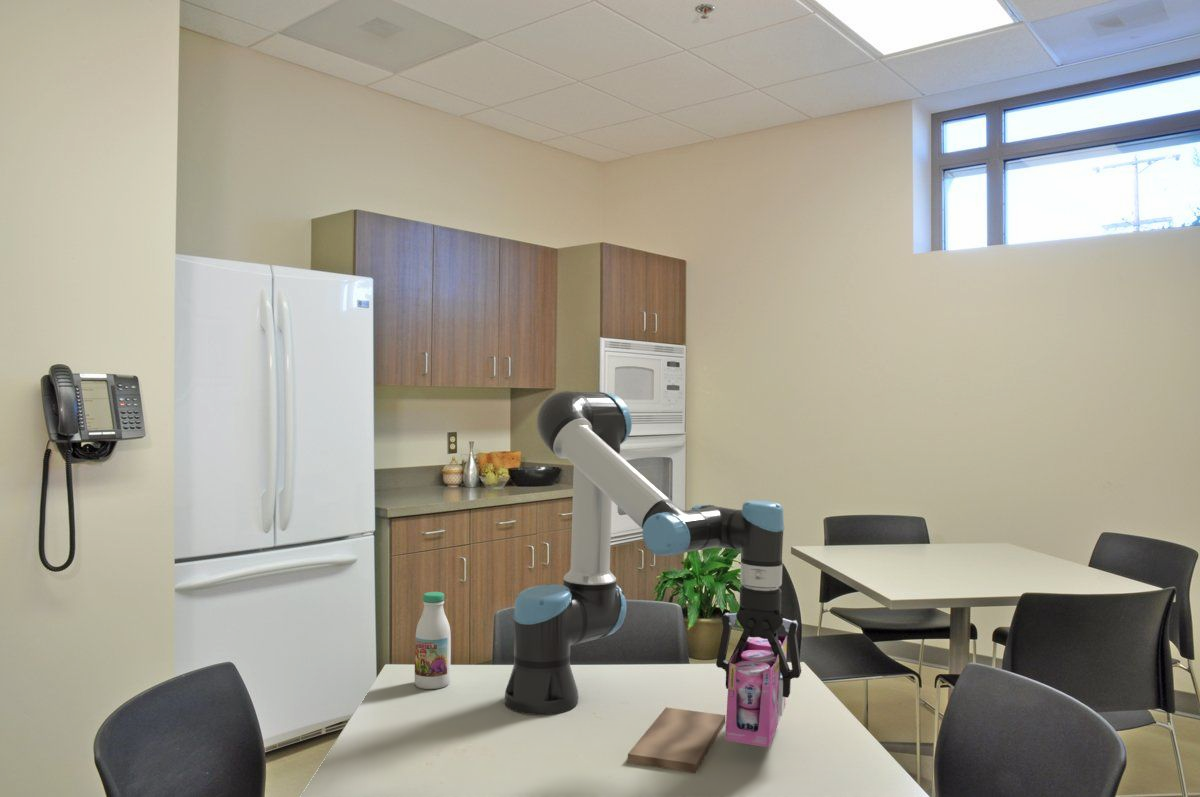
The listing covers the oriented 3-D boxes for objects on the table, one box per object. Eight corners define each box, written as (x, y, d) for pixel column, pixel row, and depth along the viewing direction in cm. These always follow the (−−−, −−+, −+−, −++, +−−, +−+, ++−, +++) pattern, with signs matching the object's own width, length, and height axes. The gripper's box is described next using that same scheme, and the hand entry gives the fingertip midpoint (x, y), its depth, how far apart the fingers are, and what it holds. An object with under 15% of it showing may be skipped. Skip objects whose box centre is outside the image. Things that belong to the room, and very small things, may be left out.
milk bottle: (421, 678, 194) (422, 589, 194) (454, 680, 193) (455, 590, 193) (409, 689, 186) (410, 596, 186) (443, 691, 185) (445, 597, 185)
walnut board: (627, 762, 148) (627, 753, 148) (665, 714, 172) (665, 707, 172) (695, 773, 144) (695, 764, 144) (725, 722, 168) (725, 715, 168)
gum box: (769, 751, 145) (771, 671, 145) (722, 744, 147) (725, 665, 147) (786, 704, 168) (788, 635, 167) (745, 699, 170) (747, 630, 170)
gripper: (700, 584, 158) (697, 708, 158) (816, 596, 151) (812, 726, 151) (709, 576, 165) (706, 695, 165) (820, 587, 158) (816, 711, 158)
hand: (757, 710), depth 158 cm, fingers closed on gum box, 8 cm apart
